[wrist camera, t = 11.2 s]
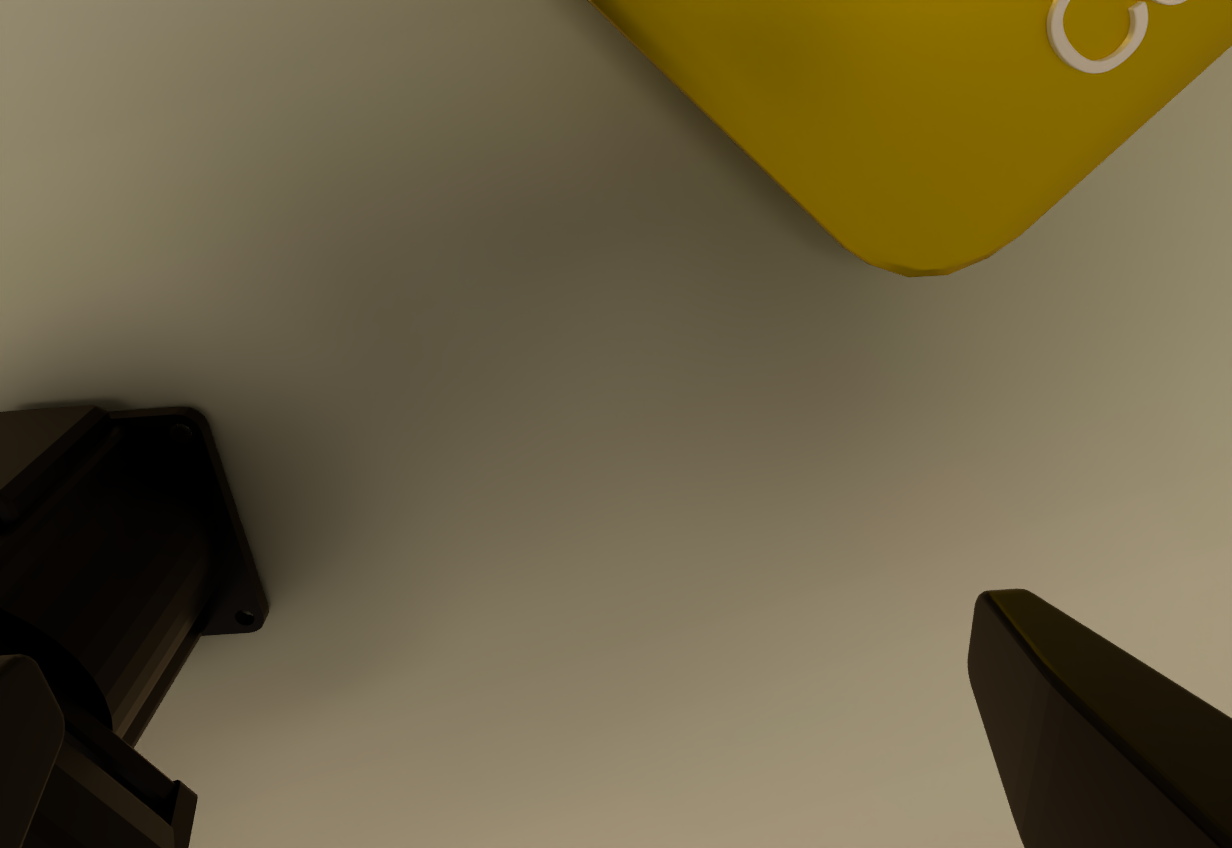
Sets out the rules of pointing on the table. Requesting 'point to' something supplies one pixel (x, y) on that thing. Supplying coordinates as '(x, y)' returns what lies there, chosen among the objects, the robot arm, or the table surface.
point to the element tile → (927, 103)
